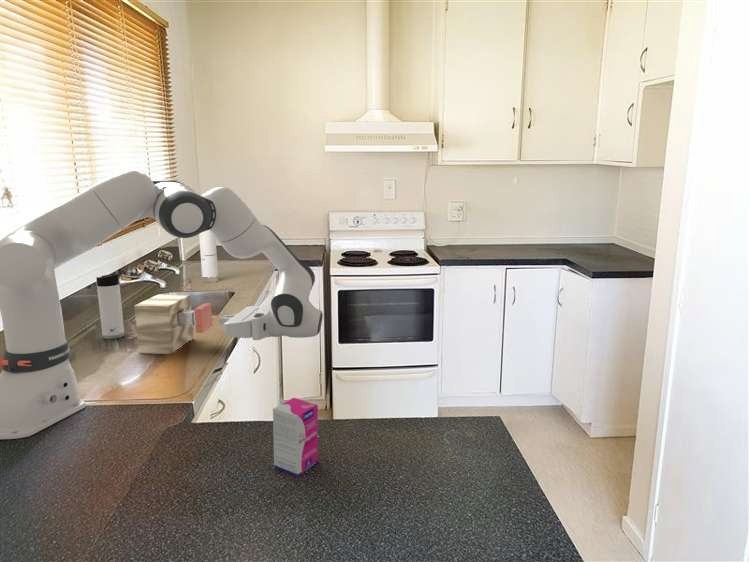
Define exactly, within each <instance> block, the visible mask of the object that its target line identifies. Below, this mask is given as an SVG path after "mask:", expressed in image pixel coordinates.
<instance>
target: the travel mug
mask: <svg viewBox="0 0 749 562" xmlns="http://www.w3.org/2000/svg"><path fill="white" fill-rule="evenodd" d="M119 278H120V277H119V273H111V274H105V275H101V276H100V277H96V287H97V288H96V289H97V298H98V307H99V316H100V325H101V335H102V338H103V339H105V340H114V339H119V338H123V337H124V336H125V325H124V317H123V308H122V306H123V305H122V298H121V297H122V296H121V287H120V279H119Z"/></svg>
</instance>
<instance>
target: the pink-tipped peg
mask: <svg viewBox="0 0 749 562" xmlns="http://www.w3.org/2000/svg"><path fill="white" fill-rule="evenodd" d="M212 312H213V311H212V303H211V302H204V303H203V304H200V305H198V306H197V307H196V308H194V310H193V309H191V310H180V311H178V312H177V318H178V324H188V325H192V326H195V332H196V334H197V333H198V334H203V333H205V332H206V331H208V330H209V329H210V328H211V327H213V313H212Z"/></svg>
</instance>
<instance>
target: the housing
mask: <svg viewBox="0 0 749 562" xmlns="http://www.w3.org/2000/svg"><path fill="white" fill-rule="evenodd" d="M191 301H192V300H191V295H190V294H164V293H159V294H156V295H154V296H152V297H150V298H148V299H145V300H143V301H141V302H139V303H137V304H134V306H133V307H134V315H135V316H134V317H135V328H136V329H135V330H136V337H137V349H138V354H156V355H157V354H158V355H161V354H162V355H163V354H164V355H173V354H174V353H176V352H177V351H178V350H177V349H179V348H180V347H181V348H183V347H184V346H185V345H184V344H185V343H187V342H188V341H189V340H191V339H192V338H193V339H194V331H193V329H194V328H193V325H188V324H178V318H177V312H178V311H180V310H192V303H191ZM191 341H192V340H191ZM188 343H189V342H188ZM188 343H187V344H188ZM183 345H184V346H183ZM182 346H183V347H182ZM181 348H180V349H181ZM180 349H179V350H180ZM176 350H177V351H176ZM175 351H176V352H175ZM173 352H174V353H173ZM170 353H171V354H170ZM172 353H173V354H172Z"/></svg>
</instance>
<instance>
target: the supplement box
mask: <svg viewBox="0 0 749 562" xmlns="http://www.w3.org/2000/svg"><path fill="white" fill-rule="evenodd" d="M318 408H319V407H318V404H317V403H312V402H309V401H306V400H303V399H299V398H296V397H293V398H290V399H289V400H287V401H285V402H283V403H281V404H279V405H277V406H275V407H273V408H272V422H273V423H272V424H273V425H272V428H273V429H272V430H273V432H272V433H273V468H274V467H276V468H278V469H280V470H279V471H281V470H283V471H282V472H284V471H285V472H284V473H286V472H287V473H286V474H289V473H290V474H289V475H291V474H292V475H291V476H295V477H297V476H298V477H300V476H301V475H302V474H303V473H305V472H307V470H309V469H310V468H312V467H313V466H315V465H316V464H318V462H319V459H318V457H319V456H318V452H319V449H318V448H319V447H318V446H319V443H318V442H319V440H318V439H319V438H318V437H319V434H318V433H319V432H318V429H319V428H318V427H319V426H318V425H319V424H318V423H319V422H318V421H319V418H318V417H319V416H318V414H319V413H318V411H319V409H318ZM314 464H315V465H314ZM276 468H275V469H276ZM278 469H277V470H278Z"/></svg>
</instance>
